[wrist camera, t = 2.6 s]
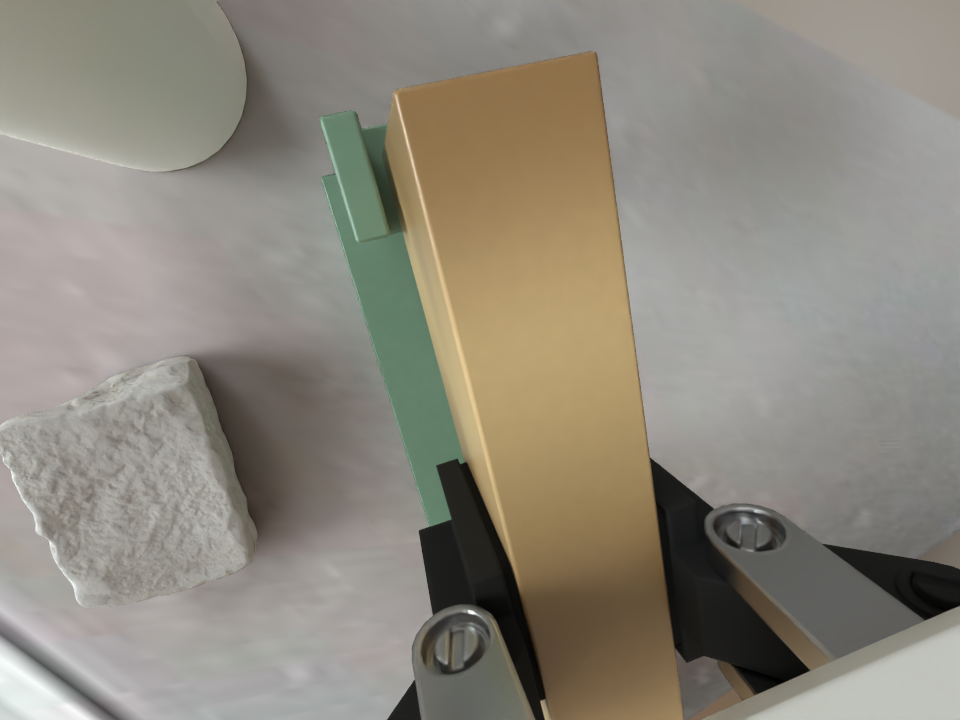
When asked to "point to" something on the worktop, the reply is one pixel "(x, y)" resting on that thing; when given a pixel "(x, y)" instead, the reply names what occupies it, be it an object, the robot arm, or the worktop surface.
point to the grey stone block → (133, 485)
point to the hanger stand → (390, 301)
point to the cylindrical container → (121, 79)
